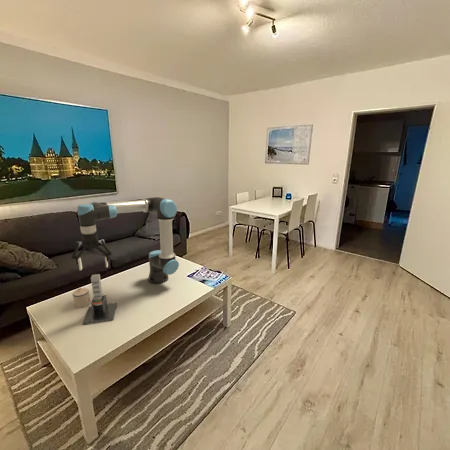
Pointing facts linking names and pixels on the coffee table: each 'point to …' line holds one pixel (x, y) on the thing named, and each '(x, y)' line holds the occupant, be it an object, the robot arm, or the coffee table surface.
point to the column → (97, 288)
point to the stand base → (100, 312)
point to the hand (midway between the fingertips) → (94, 267)
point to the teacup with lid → (81, 297)
